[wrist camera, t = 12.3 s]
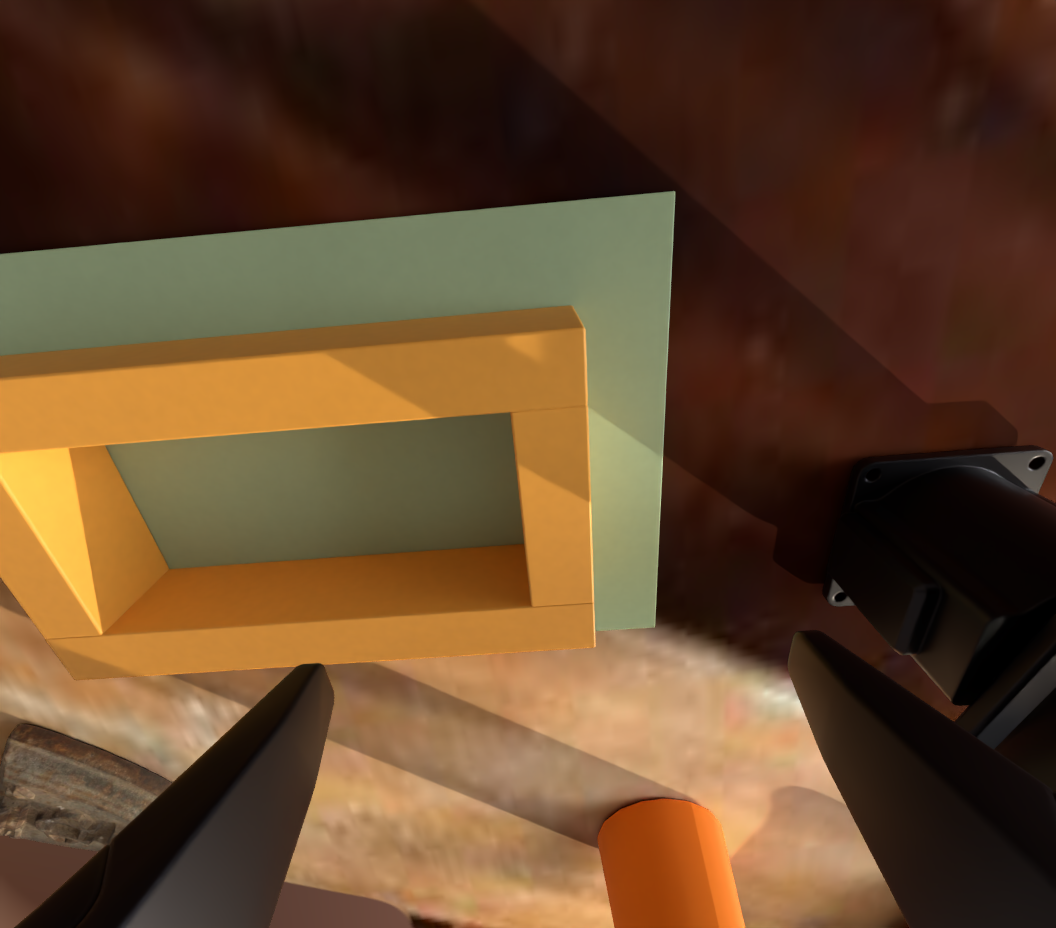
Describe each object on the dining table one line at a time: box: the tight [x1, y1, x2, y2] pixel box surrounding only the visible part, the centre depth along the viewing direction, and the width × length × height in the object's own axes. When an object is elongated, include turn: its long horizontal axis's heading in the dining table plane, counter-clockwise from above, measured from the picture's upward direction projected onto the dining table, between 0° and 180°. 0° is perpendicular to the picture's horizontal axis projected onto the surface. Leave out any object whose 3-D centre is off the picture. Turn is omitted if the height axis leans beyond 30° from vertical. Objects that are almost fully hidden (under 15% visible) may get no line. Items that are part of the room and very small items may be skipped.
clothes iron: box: [0, 724, 172, 851], centre depth 23 cm, size 7×11×10 cm, turn 58°
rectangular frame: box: [0, 305, 596, 680], centre depth 16 cm, size 18×10×3 cm, turn 95°
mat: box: [0, 191, 675, 631], centre depth 17 cm, size 24×16×1 cm, turn 95°
